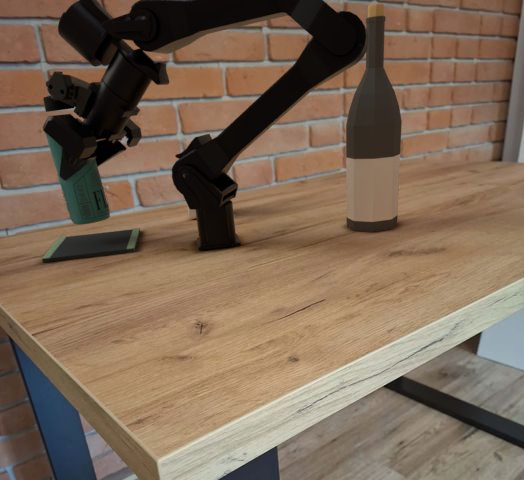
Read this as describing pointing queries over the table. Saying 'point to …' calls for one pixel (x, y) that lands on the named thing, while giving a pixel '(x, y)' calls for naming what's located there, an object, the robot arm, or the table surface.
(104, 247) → the dark square mat
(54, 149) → the beverage bottle
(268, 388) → the table surface
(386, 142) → the wine bottle
